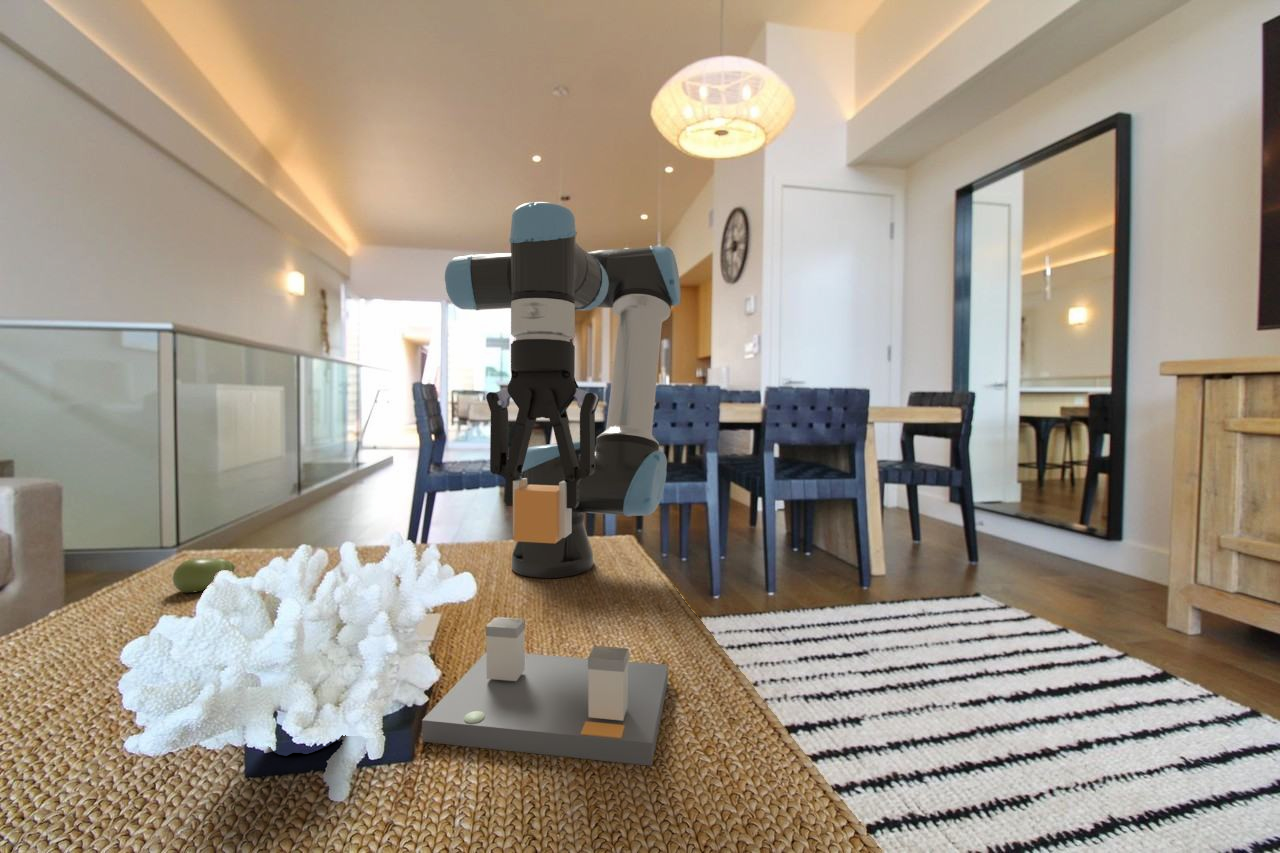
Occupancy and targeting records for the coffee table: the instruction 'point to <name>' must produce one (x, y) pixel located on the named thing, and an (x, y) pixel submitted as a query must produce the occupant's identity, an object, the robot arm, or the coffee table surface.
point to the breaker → (505, 648)
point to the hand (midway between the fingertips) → (542, 533)
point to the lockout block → (537, 514)
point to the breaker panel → (550, 712)
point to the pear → (199, 573)
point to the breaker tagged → (608, 682)
